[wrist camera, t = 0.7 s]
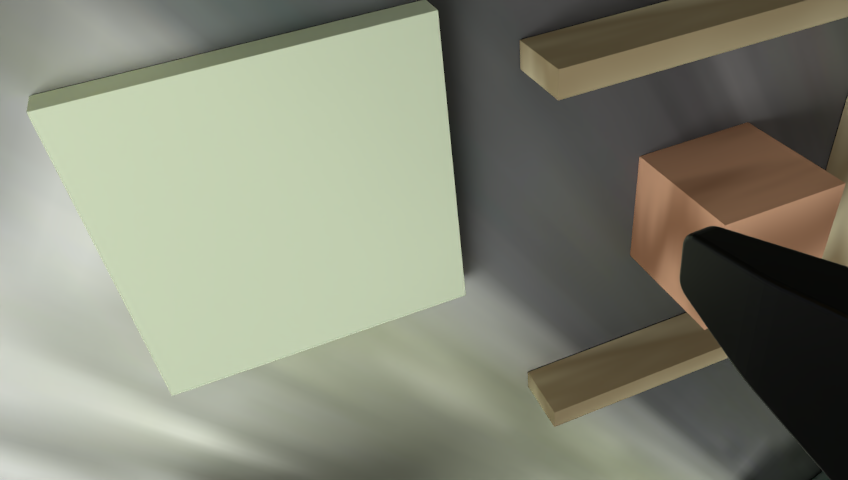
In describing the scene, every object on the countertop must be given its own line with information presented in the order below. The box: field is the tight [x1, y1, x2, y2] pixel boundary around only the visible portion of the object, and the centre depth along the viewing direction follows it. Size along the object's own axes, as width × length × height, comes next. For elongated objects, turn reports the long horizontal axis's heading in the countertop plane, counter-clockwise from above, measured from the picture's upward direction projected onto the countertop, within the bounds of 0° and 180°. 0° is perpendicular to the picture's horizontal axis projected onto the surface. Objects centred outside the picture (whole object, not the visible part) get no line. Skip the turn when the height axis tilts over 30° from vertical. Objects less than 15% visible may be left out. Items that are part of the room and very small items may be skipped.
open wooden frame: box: [520, 0, 848, 427], centre depth 29 cm, size 17×16×2 cm
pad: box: [27, 0, 466, 396], centre depth 23 cm, size 11×11×1 cm
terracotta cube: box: [630, 122, 846, 330], centre depth 28 cm, size 5×5×5 cm
